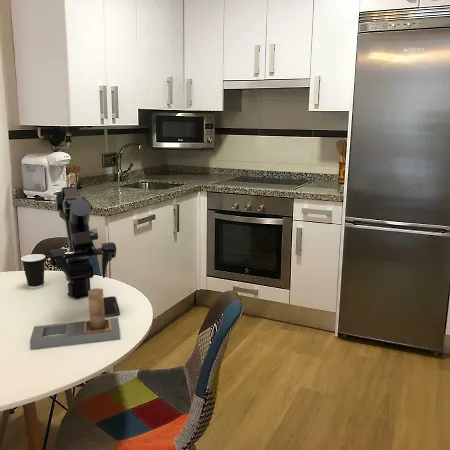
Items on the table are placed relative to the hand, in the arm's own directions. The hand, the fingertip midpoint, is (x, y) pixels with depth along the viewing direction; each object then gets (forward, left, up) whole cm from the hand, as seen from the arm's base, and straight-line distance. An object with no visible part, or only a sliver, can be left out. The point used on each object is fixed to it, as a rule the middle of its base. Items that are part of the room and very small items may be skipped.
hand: (87, 280), depth 139 cm
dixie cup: (-4, -41, -14) cm, 43 cm away
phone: (-9, -6, -14) cm, 18 cm away
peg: (+3, +8, -13) cm, 16 cm away
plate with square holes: (+8, +5, -13) cm, 16 cm away
